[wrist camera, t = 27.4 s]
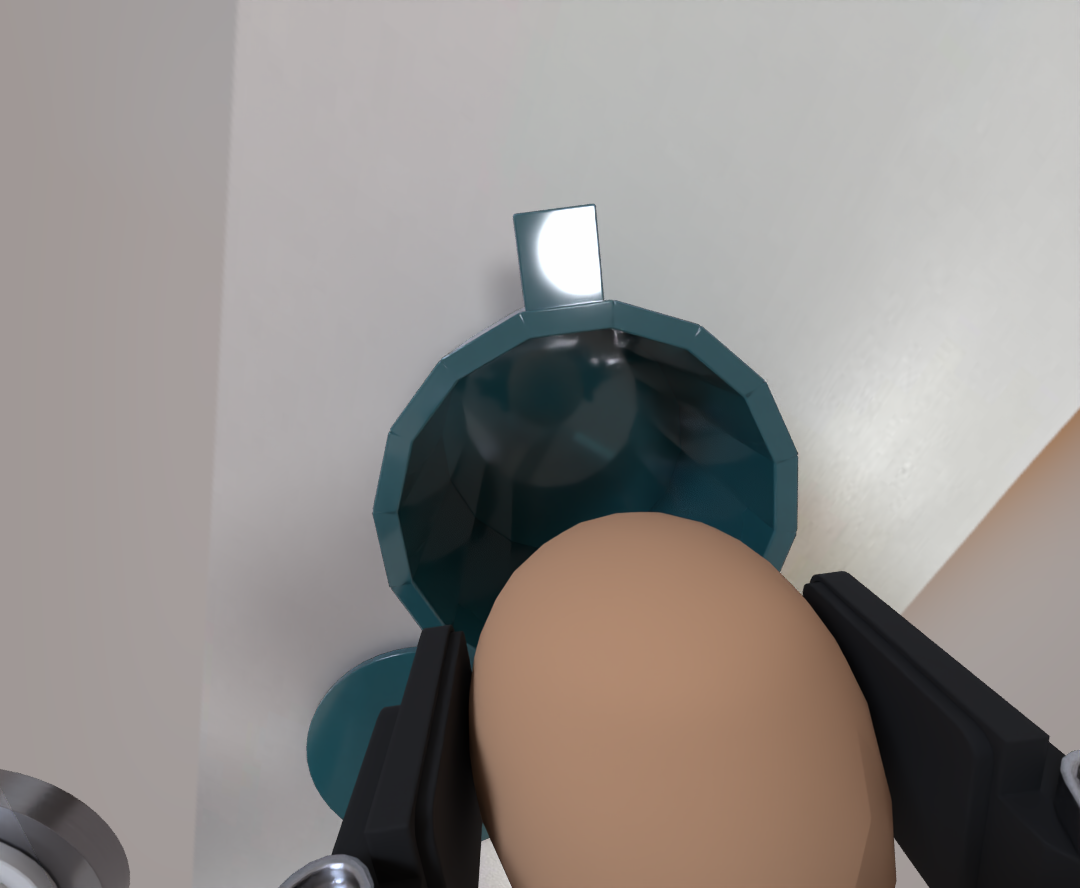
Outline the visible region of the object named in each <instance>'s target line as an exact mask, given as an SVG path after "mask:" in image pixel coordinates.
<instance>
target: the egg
mask: <svg viewBox="0 0 1080 888" xmlns="http://www.w3.org/2000/svg"><path fill="white" fill-rule="evenodd" d="M469 753H470V760H471V767H472V774H473V781H474V785H475V790H476V794H477V799H478V804H479V808H480V813H481V817H482V821H483V824H484V826H485V828H486V830H487V833H488V835H489V837H490V839H491V842H492V844H493V846H494V848H495V850H496V853H497V855H498V857H499V859H500V862H501V864H502V866H503V868H504V870H505V873H506V875H507V877H508V879H509V882H510V884H511V886H512V888H895V884H896V867H895V852H894V851H895V850H894V833H893V816H892V799H891V795H890V791H889V787H888V783H887V779H886V775H885V771H884V767H883V763H882V759H881V755H880V751H879V747H878V743H877V739H876V735H875V731H874V727H873V723H872V719H871V715H870V711H869V707H868V703H867V701H866V699H865V697H864V695H863V693H862V691H861V689H860V687H859V685H858V683H857V681H856V679H855V677H854V675H853V673H852V671H851V668H850V666H849V664H848V662H847V660H846V658H845V656H844V655H843V653H842V651H841V649H840V647H839V645H838V643H837V642H836V640H835V638H834V637H833V635H832V634H831V633H830V631H829V630H828V629H827V627H826V626H825V625H824V623H823V622H822V620H821V619H820V618H819V616H818V615H817V614H816V612H815V611H814V610H813V608H812V607H811V606H810V604H809V603H808V602H807V601H806V599H805V598H804V597H803V596H802V595H801V594H800V593H799V592H798V591H797V590H796V589H795V587H794V586H793V585H792V584H791V583H790V582H789V581H788V580H787V579H786V578H785V577H784V576H783V575H782V574H781V573H780V572H779V571H778V570H777V569H776V568H775V567H774V566H773V565H772V564H771V563H770V562H769V561H767V560H766V559H764V558H763V557H762V556H760V555H759V554H758V553H756V552H755V551H753V550H752V549H751V548H749V547H748V546H747V545H745V544H744V543H742V542H741V541H740V540H738V539H736V538H734V537H732V536H730V535H728V534H726V533H724V532H722V531H720V530H718V529H716V528H714V527H711V526H709V525H707V524H704V523H702V522H698V521H694V520H690V519H686V518H681V517H677V516H673V515H669V514H665V513H661V512H630V513H615V514H611V515H608V516H604V517H600V518H596V519H592V520H589V521H585V522H581V523H579V524H577V525H575V526H573V527H571V528H570V529H568V530H566V531H564V532H562V533H561V534H559V535H558V536H556V537H554V538H553V539H551V540H549V541H548V542H546V543H545V544H543V545H542V546H541V547H540V548H539V549H538V550H537V551H536V552H535V553H533V554H532V555H531V556H530V557H529V558H528V559H527V560H526V561H525V562H524V563H523V564H522V565H521V566H519V567H518V568H517V569H516V570H515V571H514V572H513V574H512V575H511V577H510V578H509V580H508V582H507V583H506V585H505V586H504V588H503V589H502V591H501V592H500V594H499V595H498V597H497V598H496V600H495V603H494V605H493V607H492V609H491V612H490V614H489V616H488V618H487V621H486V623H485V625H484V627H483V630H482V632H481V634H480V637H479V641H478V645H477V649H476V652H475V656H474V663H473V669H472V676H471V683H470V690H469Z"/></svg>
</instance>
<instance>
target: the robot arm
mask: <svg viewBox="0 0 1080 888" xmlns="http://www.w3.org/2000/svg"><path fill="white" fill-rule="evenodd" d="M803 597H804V598H805V599H806V601H807V602H808V603H809V604H810V606H811V607H812V608H813V610H814V611H815V612H816V614H817V615H818V616H819V618H820V619H821V620H822V622H823V623H824V625H825V626H826V627H827V629H828V630H829V631H830V633H831V634H832V635H833V637H834V638H835V640H836V642H837V643H838V645H839V647H840V649H841V651H842V653H843V655H844V656H845V658H846V660H847V662H848V664H849V666H850V668H851V671H852V673H853V675H854V677H855V679H856V681H857V683H858V685H859V687H860V689H861V691H862V693H863V695H864V697H865V699H866V701H867V703H868V707H869V711H870V715H871V719H872V723H873V727H874V731H875V735H876V739H877V743H878V747H879V751H880V755H881V759H882V763H883V767H884V771H885V775H886V779H887V783H888V787H889V791H890V795H891V799H892V816H893V833H894V838H895V840H896V841H897V843H898V844H899V845H900V847H901V848H902V850H903V851H904V852H905V854H906V855H907V857H908V858H909V860H910V861H911V862H912V864H913V865H914V866H915V868H916V869H917V871H918V872H919V873H920V875H921V876H922V878H923V879H924V881H925V882H926V883H927V885H928V886H929V888H1080V750H1076V751H1071V752H1070V753H1069V754H1067V755H1064V754H1063V753H1062V752H1061V751H1059V750H1058V749H1057V748H1056V747H1055V746H1053V745H1052V744H1051V743H1050V742H1049V735H1048V734H1046V733H1045V732H1044V731H1043V730H1041V729H1040V728H1039V727H1038V726H1036V725H1035V724H1034V723H1033V722H1032V721H1030V720H1029V719H1028V718H1027V717H1025V716H1024V715H1023V714H1022V713H1021V712H1019V711H1018V710H1017V709H1016V708H1014V707H1013V706H1012V705H1011V704H1009V703H1008V702H1007V701H1005V700H1004V699H1003V698H1002V697H1001V696H1000V695H998V694H997V693H996V692H995V691H993V690H992V689H991V688H990V687H988V686H987V685H986V684H985V683H984V682H982V681H981V680H980V679H979V678H977V677H976V676H975V675H973V674H972V673H971V672H970V671H969V670H967V669H966V668H965V667H964V666H962V665H961V664H960V663H959V662H958V661H956V660H955V659H954V658H953V657H951V656H950V655H949V654H948V653H947V652H945V651H944V650H943V649H942V648H940V647H939V646H938V645H937V644H935V643H934V642H933V641H931V640H930V639H929V638H928V637H927V636H925V635H924V634H923V633H922V632H921V631H919V630H918V629H917V628H916V627H914V626H913V625H912V624H911V623H909V622H908V621H907V620H906V619H905V618H903V617H902V616H901V615H900V614H898V613H897V612H896V611H895V610H893V609H892V608H891V607H890V606H889V605H887V604H886V603H885V602H884V601H882V600H881V599H880V598H879V597H877V596H876V595H875V594H874V593H872V592H871V591H870V590H869V589H868V588H866V587H865V586H864V585H863V584H861V583H860V582H859V581H858V580H856V579H855V578H854V577H853V576H851V575H850V574H849V573H847V572H845V571H839V572H832V573H825V574H817V575H814V576H812V578H811V580H810V583H808V584H805V585H804V588H803ZM471 676H472V670H471V664H470V659H469V654H468V649H467V644H466V638H465V634H464V632H463V631H458V632H455V631H454V628H453V626H452V625H445V626H438V627H431V628H424V629H423V630H422V632H421V636H420V639H419V643H418V646H417V650H416V653H415V657H414V660H413V664H412V667H411V670H410V674H409V677H408V681H407V684H406V688H405V691H404V695H403V698H402V702H401V705H396V706H389V707H384V708H383V709H382V710H381V711H380V713H379V715H378V718H377V720H376V723H375V726H374V729H373V732H372V735H371V738H370V741H369V744H368V747H367V750H366V753H365V756H364V759H363V762H362V765H361V768H360V771H359V774H358V777H357V780H356V783H355V786H354V789H353V792H352V795H351V798H350V801H349V804H348V807H347V810H346V813H345V816H344V819H343V822H342V825H341V828H340V831H339V834H338V837H337V840H336V843H335V846H334V849H333V852H332V855H329V856H325V857H323V858H320V859H317V860H315V861H312V862H310V863H308V864H307V865H305V866H304V867H302V868H301V869H299V870H298V871H296V872H295V873H293V874H292V875H291V876H290V877H289V878H288V879H287V880H286V881H285V882H284V883H282V884H281V885H280V886H279V887H278V888H478V882H479V867H480V852H481V836H482V817H481V813H480V808H479V804H478V799H477V794H476V790H475V785H474V781H473V774H472V767H471V760H470V753H469V690H470V683H471ZM0 888H57V885H56V883H55V882H54V881H53V879H52V878H51V877H50V875H49V874H48V873H47V871H46V870H45V869H44V868H42V867H41V866H40V865H39V864H38V863H37V862H36V861H35V860H33V859H32V858H31V857H29V856H28V855H26V854H25V853H23V852H22V851H20V850H18V849H16V848H14V847H12V846H10V845H8V844H6V843H4V842H1V841H0Z"/></svg>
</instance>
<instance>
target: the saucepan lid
mask: <svg viewBox="0 0 1080 888" xmlns="http://www.w3.org/2000/svg"><path fill="white" fill-rule="evenodd" d="M416 650H417V647H409V648H404V649H398V650H393V651H390V652H387V653H384V654H381V655H378V656H376V657H373V658H371V659H369V660H367V661H365V662H363V663H361V664H360V665H358V666H356V667H355V668H353V669H351V670H350V671H349V672H347V673H346V674H345V675H344V676H343V677H341V678H340V679H339V680H338V681H337V682H336V683H335V684H334V685H333V686H332V687H331V688H330V689H329V690H328V692H327V693H326V695H325V696H324V698H323V699H322V701H321V702H320V704H319V706H318V708H317V710H316V712H315V714H314V716H313V718H312V721H311V724H310V728H309V731H308V737H307V746H306V749H307V762H308V766H309V771H310V774H311V777H312V779H313V782H314V784H315V787H316V788H317V790H318V792H319V793H320V795H321V797H322V798H323V799H324V801H325V802H326V803H327V805H328V806H329V807H330V808H331V809H332V810H333V811H334V812H335V813H336V814H337V815H338V816H339V817H340V818H341V819H344V816H345V813H346V810H347V807H348V804H349V801H350V798H351V795H352V792H353V789H354V786H355V783H356V780H357V777H358V774H359V771H360V768H361V765H362V762H363V759H364V756H365V753H366V750H367V747H368V744H369V741H370V738H371V735H372V732H373V729H374V726H375V723H376V720H377V718H378V715H379V713H380V711H381V710H382V709H383V708H384V707H389V706H396V705H401V702H402V698H403V695H404V691H405V688H406V684H407V681H408V677H409V674H410V670H411V667H412V664H413V660H414V657H415V653H416ZM488 838H490V837H489V835H488V833H487V830H486V828H485V826H484V824H483V821H482V836H481V841H483V840H486V839H488Z"/></svg>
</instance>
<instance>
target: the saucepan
mask: <svg viewBox="0 0 1080 888" xmlns="http://www.w3.org/2000/svg"><path fill="white" fill-rule="evenodd" d="M513 224H514V232H515V239H516V247H517V255H518V262H519V270H520V278H521V286H522V293H523V301H524V308H521V309H518V310H516V311H514V312H513V313H511V314H509V315H507V316H506V317H504V318H502V319H501V320H499V321H497V322H496V323H494V324H492V325H491V326H489V327H487V328H486V329H484V330H482V331H481V332H479V333H477V334H475V335H474V336H472V337H471V338H469V339H468V340H466V341H465V342H464V343H462V344H461V345H459V346H458V347H457V348H455V349H454V350H453V351H451V352H450V353H448V354H447V355H446V356H444V357H443V358H442V359H441V360H440V361H439V362H438V363H437V365H436V366H435V367H434V369H433V370H432V371H431V373H430V374H429V376H428V377H427V378H426V380H425V381H424V383H423V384H422V385H421V387H420V388H419V389H418V391H417V392H416V394H415V395H414V396H413V398H412V399H411V401H410V402H409V403H408V405H407V406H406V407H405V409H404V410H403V412H402V413H401V414H400V416H399V417H398V419H397V420H396V421H395V423H394V424H393V426H392V427H391V428H390V432H389V433H388V437H387V442H386V447H385V451H384V456H383V461H382V466H381V471H380V476H379V481H378V486H377V491H376V496H375V501H374V505H373V513H372V514H373V518H374V522H375V527H376V531H377V535H378V540H379V544H380V548H381V553H382V557H383V561H384V566H385V570H386V574H387V578H388V583H389V587H391V589H392V591H393V592H394V593H395V595H396V596H397V597H398V599H399V600H400V601H401V603H402V604H403V605H404V607H405V608H406V609H407V611H408V612H409V613H410V615H411V616H412V617H413V619H414V620H415V621H416V623H417V624H418V625H419V627H420V628H421V629H422V630H423V629H424V628H431V627H438V626H445V625H452V626H453V628H454V631H455V632H458V631H463V632H464V634H465V638H466V644H467V649H468V654H469V659H470V664H471V670H472V669H473V663H474V656H475V652H476V649H477V645H478V641H479V637H480V634H481V632H482V630H483V627H484V625H485V623H486V621H487V618H488V616H489V614H490V612H491V609H492V607H493V605H494V603H495V600H496V598H497V597H498V595H499V594H500V592H501V591H502V589H503V588H504V586H505V585H506V583H507V582H508V580H509V578H510V577H511V575H512V574H513V572H514V571H515V570H516V569H517V568H518V567H519V566H521V565H522V564H523V563H524V562H525V561H526V560H527V559H528V558H529V557H530V556H531V555H532V554H533V553H535V552H536V551H537V550H538V549H539V548H540V547H541V546H542V545H543V544H545V543H546V542H548V541H549V540H551V539H553V538H554V537H556V536H558V535H559V534H561V533H562V532H564V531H566V530H568V529H570V528H571V527H573V526H575V525H577V524H579V523H581V522H585V521H589V520H592V519H596V518H600V517H604V516H608V515H611V514H615V513H630V512H661V513H665V514H669V515H673V516H677V517H681V518H686V519H690V520H694V521H698V522H702V523H704V524H707V525H709V526H711V527H714V528H716V529H718V530H720V531H722V532H724V533H726V534H728V535H730V536H732V537H734V538H736V539H738V540H740V541H741V542H742V543H744V544H745V545H747V546H748V547H749V548H751V549H752V550H753V551H755V552H756V553H758V554H759V555H760V556H762V557H763V558H764V559H766V560H767V561H769V562H770V563H771V564H772V565H773V566H774V567H775V568H776V569H777V570H778V571H779V572H780V571H781V569H782V566H783V564H784V562H785V559H786V557H787V555H788V552H789V550H790V548H791V546H792V543H793V541H794V539H795V536H796V531H797V509H798V456H797V455H798V452H797V450H796V448H795V445H794V443H793V441H792V439H791V437H790V434H789V432H788V430H787V428H786V425H785V423H784V421H783V419H782V416H781V414H780V412H779V410H778V407H777V405H776V403H775V401H774V398H773V396H772V394H771V392H770V389H769V387H768V385H767V383H766V382H765V381H764V379H763V378H762V377H761V376H759V375H758V374H757V373H756V372H755V371H754V370H752V369H751V368H750V367H749V366H748V365H747V364H745V363H744V362H743V361H742V360H741V359H740V358H739V357H737V356H736V355H735V354H734V353H733V352H732V351H730V350H729V349H728V348H727V347H726V346H725V345H723V344H722V343H721V342H720V341H719V340H718V339H717V338H715V337H714V336H713V335H712V334H711V333H710V332H708V331H707V330H706V329H705V328H704V327H703V326H700V325H699V324H696V323H693V322H689V321H686V320H682V319H679V318H676V317H672V316H669V315H665V314H662V313H658V312H655V311H651V310H648V309H644V308H641V307H638V306H634V305H631V304H627V303H624V302H620V301H617V300H604V292H603V281H602V270H601V259H600V247H599V236H598V225H597V213H596V205H595V204H587V205H579V206H571V207H564V208H556V209H548V210H540V211H533V212H525V213H517V214H514V215H513Z"/></svg>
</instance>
